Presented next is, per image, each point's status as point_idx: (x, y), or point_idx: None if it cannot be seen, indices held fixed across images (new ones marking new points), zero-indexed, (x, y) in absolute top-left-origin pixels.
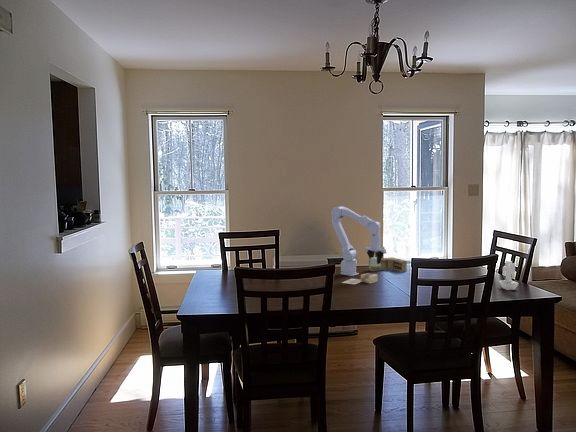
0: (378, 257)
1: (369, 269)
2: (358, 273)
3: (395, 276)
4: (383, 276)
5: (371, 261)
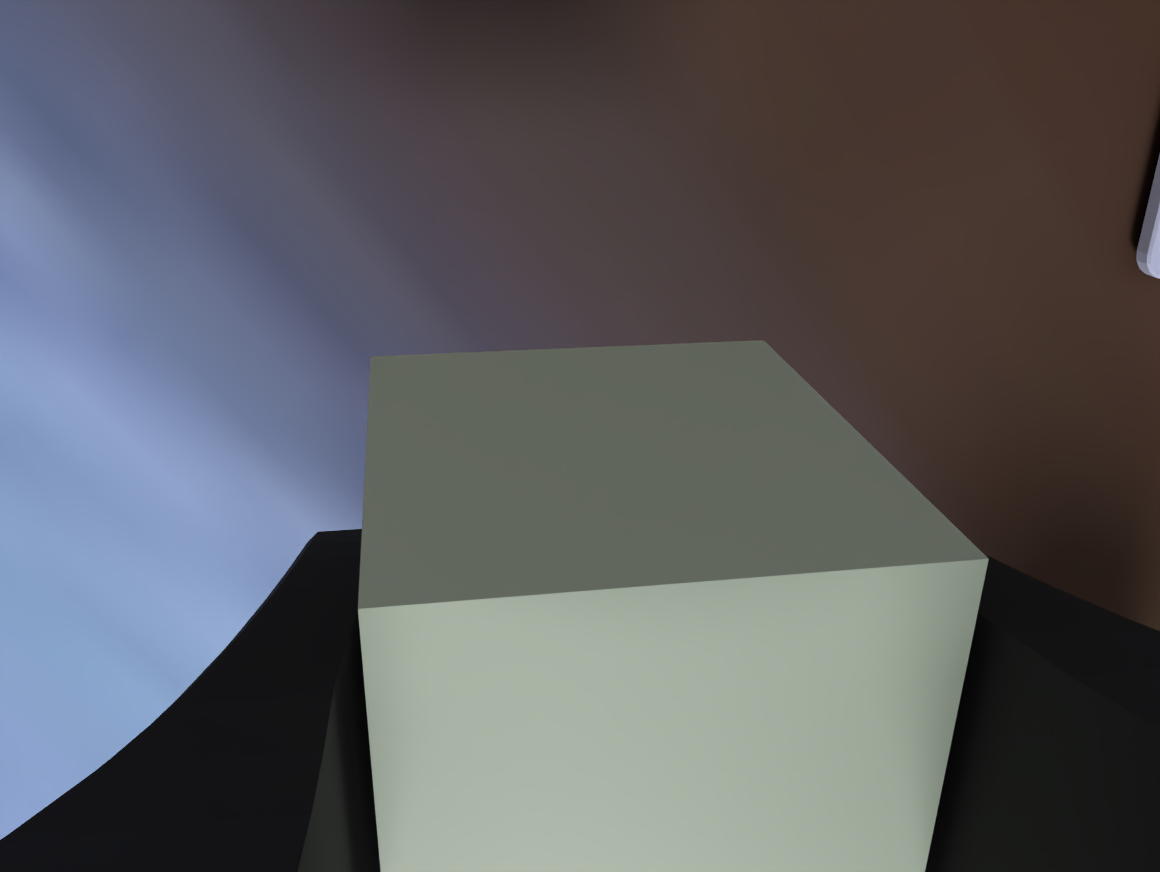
0: (96, 777)
1: None
2: (1156, 237)
3: (69, 744)
4: (338, 522)
5: (768, 448)
